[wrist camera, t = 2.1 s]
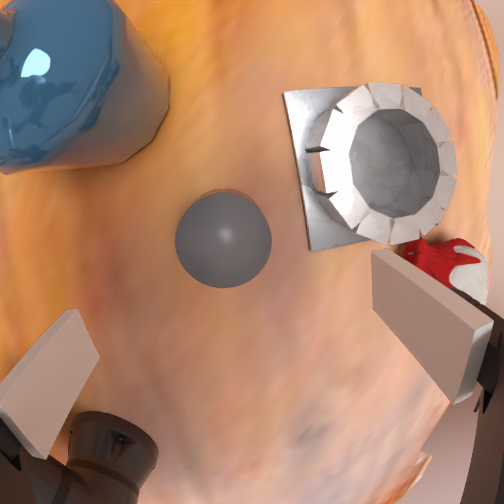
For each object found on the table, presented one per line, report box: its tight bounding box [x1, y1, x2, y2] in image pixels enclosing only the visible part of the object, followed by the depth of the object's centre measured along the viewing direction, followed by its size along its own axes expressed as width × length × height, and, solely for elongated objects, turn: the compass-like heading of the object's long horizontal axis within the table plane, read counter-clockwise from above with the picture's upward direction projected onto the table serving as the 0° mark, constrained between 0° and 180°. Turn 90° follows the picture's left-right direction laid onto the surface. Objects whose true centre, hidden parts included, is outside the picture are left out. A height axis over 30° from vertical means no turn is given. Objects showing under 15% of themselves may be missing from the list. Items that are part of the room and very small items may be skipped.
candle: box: [403, 236, 488, 305], centre depth 28 cm, size 9×11×15 cm
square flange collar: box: [283, 83, 457, 252], centre depth 25 cm, size 16×16×6 cm
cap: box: [175, 189, 271, 288], centre depth 26 cm, size 8×8×6 cm
